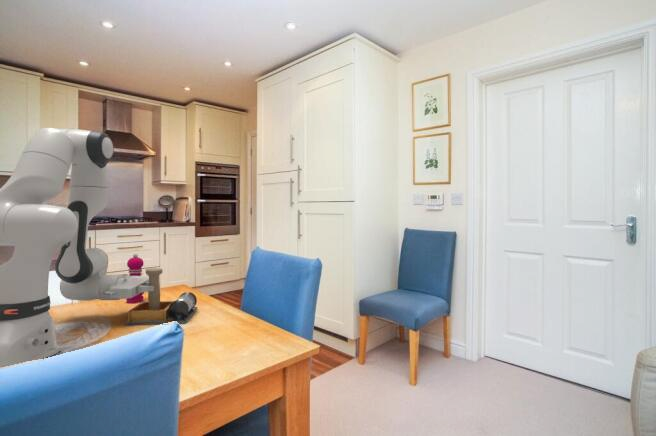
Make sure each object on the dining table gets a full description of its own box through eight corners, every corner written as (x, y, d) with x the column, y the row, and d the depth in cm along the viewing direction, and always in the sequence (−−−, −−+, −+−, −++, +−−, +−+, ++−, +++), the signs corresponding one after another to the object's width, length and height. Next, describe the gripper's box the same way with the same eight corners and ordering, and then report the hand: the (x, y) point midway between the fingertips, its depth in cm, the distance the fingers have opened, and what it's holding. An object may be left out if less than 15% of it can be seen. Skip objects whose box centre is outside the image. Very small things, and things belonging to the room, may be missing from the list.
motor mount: (186, 323, 117) (186, 302, 117) (124, 325, 114) (124, 303, 114) (198, 309, 135) (198, 290, 135) (144, 310, 132) (145, 291, 132)
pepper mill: (138, 303, 142) (139, 254, 141) (121, 303, 142) (121, 254, 142) (148, 299, 149) (148, 252, 149) (131, 299, 149) (132, 252, 149)
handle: (152, 314, 120) (151, 271, 120) (143, 311, 124) (142, 269, 124) (165, 311, 124) (165, 269, 124) (156, 308, 128) (155, 267, 128)
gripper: (100, 284, 112) (146, 284, 114) (126, 273, 132) (165, 273, 134) (99, 304, 112) (145, 303, 114) (126, 289, 132) (165, 289, 134)
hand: (156, 286), depth 124 cm, fingers closed on handle, 3 cm apart
